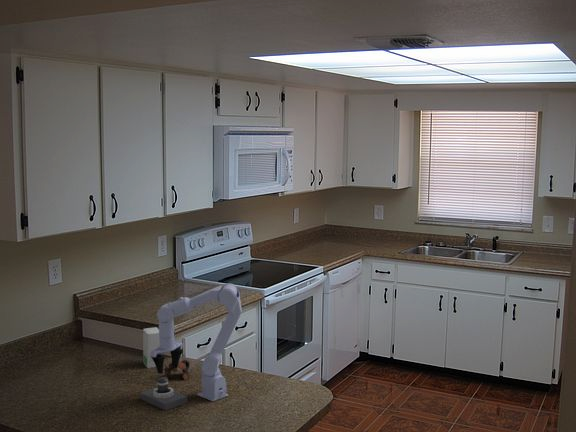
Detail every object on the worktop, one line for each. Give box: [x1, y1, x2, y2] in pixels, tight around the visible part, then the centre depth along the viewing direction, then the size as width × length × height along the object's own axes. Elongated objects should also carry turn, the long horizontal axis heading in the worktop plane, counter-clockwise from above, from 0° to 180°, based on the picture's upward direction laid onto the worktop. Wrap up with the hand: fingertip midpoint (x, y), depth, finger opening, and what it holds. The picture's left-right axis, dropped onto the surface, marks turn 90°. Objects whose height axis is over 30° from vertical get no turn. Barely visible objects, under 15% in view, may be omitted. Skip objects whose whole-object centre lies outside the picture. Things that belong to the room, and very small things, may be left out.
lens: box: [156, 376, 169, 394], centre depth 254 cm, size 4×4×6 cm
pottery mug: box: [163, 359, 190, 381], centre depth 280 cm, size 12×10×8 cm
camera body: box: [139, 386, 188, 411], centre depth 254 cm, size 16×10×4 cm, turn 46°
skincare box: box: [142, 326, 159, 369], centre depth 294 cm, size 8×7×16 cm
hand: (167, 370), depth 259 cm, fingers open, 7 cm apart
